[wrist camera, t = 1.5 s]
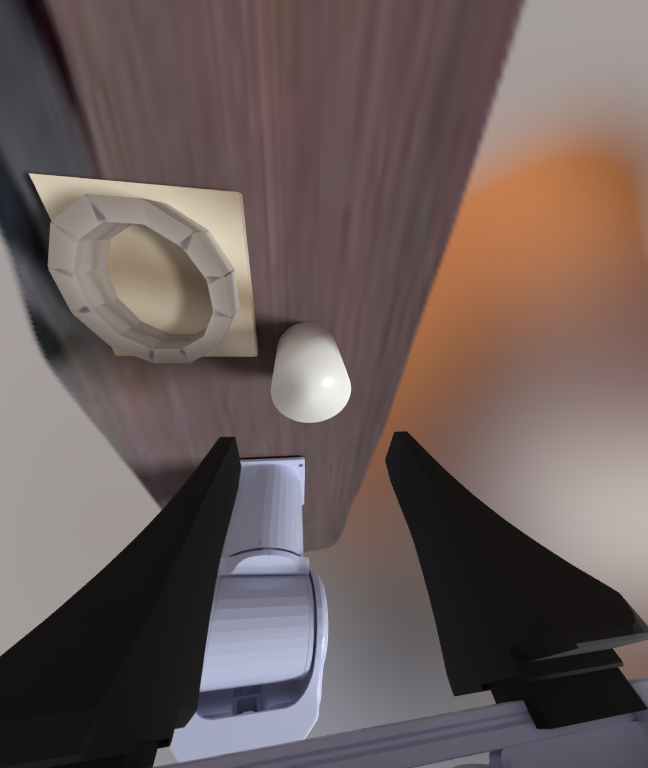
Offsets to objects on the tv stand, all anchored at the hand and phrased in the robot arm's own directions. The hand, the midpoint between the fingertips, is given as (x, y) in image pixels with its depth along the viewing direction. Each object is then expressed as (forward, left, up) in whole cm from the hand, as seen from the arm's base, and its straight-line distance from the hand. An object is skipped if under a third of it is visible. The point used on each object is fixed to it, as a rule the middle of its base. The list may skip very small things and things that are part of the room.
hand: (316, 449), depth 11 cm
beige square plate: (+5, +9, -11) cm, 15 cm away
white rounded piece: (0, 0, -11) cm, 11 cm away
